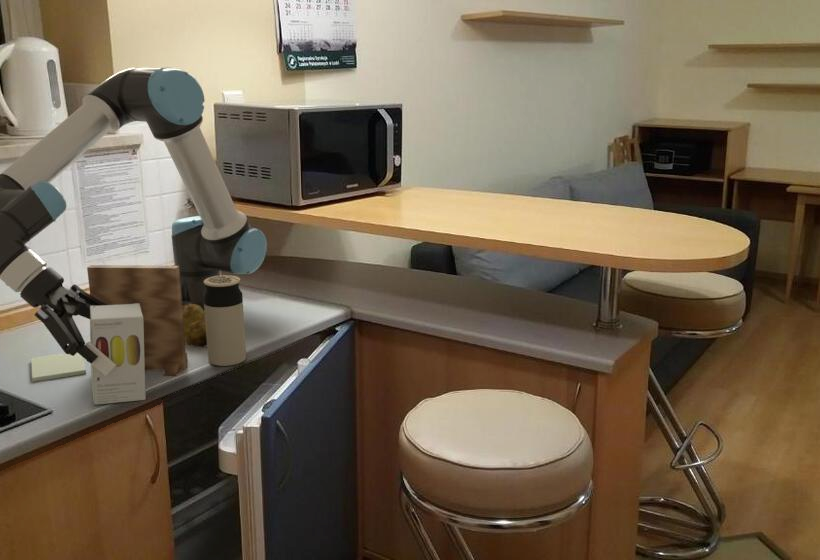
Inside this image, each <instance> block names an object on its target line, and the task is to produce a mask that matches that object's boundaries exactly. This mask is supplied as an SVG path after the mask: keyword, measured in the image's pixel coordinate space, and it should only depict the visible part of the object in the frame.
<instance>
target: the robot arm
mask: <svg viewBox="0 0 820 560" xmlns="http://www.w3.org/2000/svg"><path fill="white" fill-rule="evenodd" d="M205 100H206V99H205V94H204V91H203V88H202V86H201V84H200V83H199V82H198V80H197V78H195V76H193V75H192V74H190V73H189V72H187V71H185V70H183V69H178V68H174V67H161V68H160V67H159V68H157V67H156V68H154V67H153V68H152V67H150V68H149V67H130V68H127V69H123V70H121V71H119V72H117V73H115V74H113V75H112V76H110V77H109V78H107V79H106V80H104V81H103V82H101V83H100V84H98V85H97V86H96V87H94V89H92V90H91V91H90V92H89V93H87V94H86V95H85V96H84V97H83V98H82V105H81V106H80V107H79V108H77V109H76V110H75V111H74V112H73V113H71V114H70V115H68V116H67V118H65V119H64V120H63V121H62V122H61V123H59V124H58V125H57V126H56V127H55V128H53V129H52V130H51V131H50V132H49V133H47V134H46V135H45V136H44V137H42V138H41V139H40V140H38V142H36V144H34V145H33V146H32V147H30V148H29V149H28V150H27V151H26V152H25V153H24V154H22V155H21V156H20V157H19V158H17V159H16V160H15V161H14V162H13V163H11V164H10V165H8V167H6V169H4V170H3V171H2V172H0V280H1V281H2V282H3V283H5V286H7V287H9V288H10V289H11V290H12V291H13V292H15V293H19V295H20V298H21V299H22V300H24V301H25V302H26V303H27V304H28V305H30V306H31V308H33V309H36V308H38V307H39V309H38V310H37V311H36V312H35V313H34V316H35V317H36V318H37V319H38V320H40V322H41V323H42V324H43V325H44V326H45V328H46V329H47V331H49V333H50V334H51V336H52V337H53V339H54V340H55V341H56V342H57V344H58V345H59V346H60V348H61V350H62V351H63V353H66V354H70V355H72V356H74V355H75V354H76V353H79V354H80V355H81V356H82V357H83V359H84V360H85V361H87V362H88V363H90V365H91V364H92V365H93V366H94V367H96V368H97V369H98V370H99V371H100V372H101V373H103V374H104V375H105V376H106V375H107V374H108V373H109V372H110V371H111V370H112V369H113V368H114V367H115V366H116V364H115V363H114V362H112V361H111V360H110V359H109V358H108V357H107V356H105V355H104V354H103V353H102V352H101V351H100V350H98V349H97V348H96V347H95V346H94V345H93V344H91V343H90V341H87V342H86V341H85V340H84V337H83V335H82V334H81V332H80V329H79V327H78V326H77V323H76V321H75V320H74V318H73V316H76V317H77V316H80V317H83V318H85V319H88V320H90V306H94V305H95V306H102V305H107V304H105V303H103V302H102V301H100V300H98V299H96V298H95V297H93V296H91V295H90V293H88V292H86V291H85V290H83V289H82V288H80V287H79V285H77V284H76V283H75V284H72V285H71V286H70V287H69V288H66V287H65V286H63V283H64V282H65V279H64V277H63V276H62V275H61V274H60V273H59V272H57V271H56V270H55V269H54V268H53V267H49V266H48V267H47V265H48V264H47V263H48V262H46V261H45V260H44V259H42V258H41V257H40V256H39V255H38V254H36V253H35V252H34V251H33V250H31V248H30V247H28V246H27V245H26V244H27V243H29V242H30V241H31V240H32V239H33V238H35V236H38V235H39V234H40V233H41V232H42V231H44V229H46V228H48V226H50V225H51V224H52V223H55V222H56V220H57V219H58V218H59V217H60V216H61V215H63V214H64V212H65V211H66V209H67V202H66V199H65V197H64V195H63V194H62V192H61V191H60V190H59V189H58V188H57V186H55V185H54V184H52V182H53V181H54V180H55V179H56V178H57V177H58V176H60V174H62V173H63V172H64V171H65V170H66V169H67V168H69V167H70V166H71V165H72V164H73V163H75V162H76V161H77V160H78V159H79V158H80V157H81V156H82V155H84V154H85V153H86V152H87V151H88V150H89V149H90V148H92V147H93V146H94V145H95V144H97V142H99V141H100V140H101V139H102V138H103V137H104V136H105V135H106V134H108V133H116V132H117V131H119V129H121V128H122V127H123V126H125V125H127V124H130V123H133V122H142V123H143V122H145V123H146V124H147V126H148V128H149V130H150V132H151V134H152V136H153V137H154V139H155V140H157V141H161V142H163V143H164V145H165V147H166V149H167V152H168V153H169V155H170V158H171V159H172V161H173V164H174V165H175V167H176V170H177V172H178V174H179V175H180V179H182V182H183V184H184V186H185V188H186V191H187V193H188V194H189V196H190V200H191V201H192V203H193V205H194V207H195V209H196V211H197V214H198V215H196V216H189V217H184V218H180V219H176V220H175V221H173V223H172V224H171V235H170V236H171V242H172V243H171V244H172V245H171V246H172V255H173V263H174V265H173V266H179V272H180V285H181V297H182V306H184V305H186V304H196V305H199V306H201V308H202V309H203V311H204V312H205V310H204V294H205V292H206V285H205V284H204V280H205V279H207V278H209V277H213V276H220V275H222V271H223V272H227V273H232V274H235V275H251V274H252V273H254V272H256V270H258V269H259V268H260V267H261V265H262V264H263V262H264V260H265V258H266V254H267V249H268V242H267V238H266V236H265V234H264V232H263V231H262V230H260V229H258V228H257V227H256V228H255V227H254V228H253V227H252V226H251V224H250V222H249V220H248V217H247V215H246V214H245V213H244V212H242V211H240V210H237V208H236V205H235V204H234V201H233V199H232V196H231V195H230V192H229V190H228V188H227V185H226V183H225V180H224V179H223V177H222V174H221V172H220V170H219V168H218V165H217V163H216V161H215V158H214V156H213V155H212V152H211V149H210V147H209V146H208V143H207V141H206V139H205V136H204V134H203V132H202V129H201V125H202V123H203V121H204V117H203V112H204V110H205V105H203V104H204V103H205Z"/></svg>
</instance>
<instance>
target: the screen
mask: <svg viewBox="0 0 820 560" xmlns="http://www.w3.org/2000/svg"><path fill="white" fill-rule="evenodd" d="M86 270H87V279H88V286H89V287H88V289H89V295H91V296H93V297H95V298H96V299H98V300H100V301H102V302H103V303H105V304H107V305H121V304H134V303H139V304H140V308H141V312H142V315H143V324H144V362H145V371H163V376H164V377H177V376H178V374H179V373H180V372H181V371H186V369H187V368H188V353H187V350H186V348H187V347H186V343H185V334H184V322H183V309H182V297H181V285H180V272H179V266H175V265H148V264H146V265H139V264H138V265H135V264H134V265H133V264H132V265H131V264H130V265H129V264H128V265H127V264H126V265H125V264H123V265H122V264H118V265H117V264H114V265H113V264H111V265H110V264H91V265H89V266H88V267H86Z"/></svg>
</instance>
